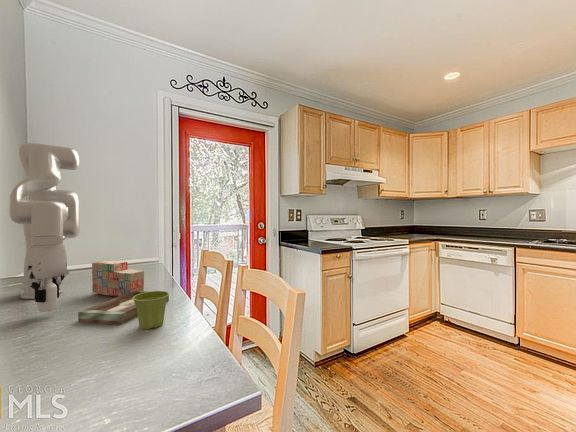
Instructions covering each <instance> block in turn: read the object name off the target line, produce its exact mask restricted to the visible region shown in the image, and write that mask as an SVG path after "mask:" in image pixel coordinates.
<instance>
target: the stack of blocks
mask: <svg viewBox="0 0 576 432" xmlns="http://www.w3.org/2000/svg"><path fill="white" fill-rule="evenodd" d="M91 266H92V267H91V278H92V279H91V281H92V285H91V287H92V288H91V289H92V292H91V293H92V294H97V295H105V296H114V297H120V296H122V295H125V294H128V293H131V292H135V291H145V289H144V288H145V287H144V286H145V271H144V270H139V269H138V270H137V269H131V268H130V269H129V268H128V261H122V260H121V261H120V260H102V261H101V260H100V261H95V262H92V263H91Z"/></svg>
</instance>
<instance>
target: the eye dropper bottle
mask: <svg viewBox="0 0 576 432" xmlns="http://www.w3.org/2000/svg"><path fill="white" fill-rule="evenodd" d="M44 289H46V301H45V302H44V303H40V302H36V304H37V305H36V306H37V307H36V308H37V311H39V312H45V313H48V312H53V311H56V310H57V309H58V298H57V286H56V285H55V284H54V283H52V277H51V278H47V279H45V283H44Z"/></svg>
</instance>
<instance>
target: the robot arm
mask: <svg viewBox="0 0 576 432" xmlns="http://www.w3.org/2000/svg"><path fill="white" fill-rule="evenodd" d="M18 155H19V160H20V163H21V165H22V168H23V170H24V172H25V173H26V177H25V178H24V179H22V180H21V181H19V182H18V183H17V184H16V185H14V187H13V189H12V190H11V192H10V195H9V197H10V198H9V211H8V212H9V217H10V220H11V221H12V222H13V223H15V224H17V225H18V224H20V225H23V226H22V227H23V228H22V229H23V234H24V238H25V241H24V242H25V250H26V251H25V258H24V264H23V265H24V266H23V280H22V282H21V284H23V285H21V286H20V291H21V290H22V291H24V293H22V294H20V298H21V299H23V300H34V302H35V303H37V302H40V303H44V302H45V301H46V289H44V283H45V279H47V278H51V277H52V283H54V284H55V285H56V286H57V299H58V298H60V294H62V293H64V290H63V288H60V286H61V285H62V282H63V280H64V279H65V278H66V277H67V276H68V275H69V274H70V272H69V269H68V257H67V250H66V246H65V244H64V240H65V239H67V240H68V239H73V238H77V237H78V236H79V234H80V231H81V229H80V228H81V226H80V201H79V200H80V199H79V196H78V194H77V193H76V192H74V191H72V190H67V189H66V190H63V189H62V190H61V189H57V186H59V185H60V183H61V179H62V178H61V177H62V176H61V170H67V171H68V170H69V171H76V170H77V169H78V168H79V167H80V166H79V165H80V156H79V153H78V151H77V150H76V149H75V148H73V147H66V146H58V145H50V144H43V143H34V142H28V143H27V142H26V143H22V144H20V146H19V148H18ZM27 196H28V199H27V200H25V199H24V198H25V197H27ZM23 199H24V200H23Z"/></svg>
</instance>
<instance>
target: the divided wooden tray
mask: <svg viewBox="0 0 576 432" xmlns="http://www.w3.org/2000/svg"><path fill="white" fill-rule="evenodd" d="M151 291H152V290H150V291H148V290H147V291H146V290H144V291H135V292H131V293H128V294H125V295H122V296H120V297H119V296H116V297H115V298H111V299H110V300H106V301H103V302H102V303H99V304H95V305H93V306H91V307H88V308H85V309H82V310H80V311H78V312H77V314H78V315H77V318H78V321H77V322H78V323H85V324H101V325H102V324H103V325H104V324H105V325H114V326H115V325H117V326H121V325H123V324H126V323H127V322H129V321H131V320H133V319H135V318H138V314H137V308H136V305H135V302H134V300H133V297H134V296H135V295H138V294H140V293H145V292H151ZM169 297H170V295H169V296H168V298H167V301H166V302H168V301H170V298H169Z"/></svg>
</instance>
